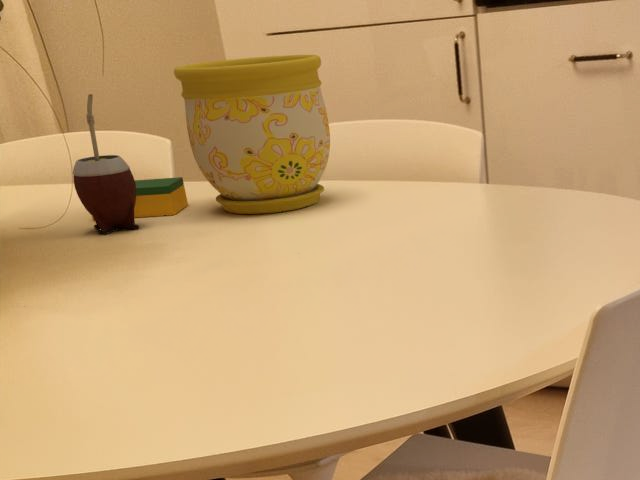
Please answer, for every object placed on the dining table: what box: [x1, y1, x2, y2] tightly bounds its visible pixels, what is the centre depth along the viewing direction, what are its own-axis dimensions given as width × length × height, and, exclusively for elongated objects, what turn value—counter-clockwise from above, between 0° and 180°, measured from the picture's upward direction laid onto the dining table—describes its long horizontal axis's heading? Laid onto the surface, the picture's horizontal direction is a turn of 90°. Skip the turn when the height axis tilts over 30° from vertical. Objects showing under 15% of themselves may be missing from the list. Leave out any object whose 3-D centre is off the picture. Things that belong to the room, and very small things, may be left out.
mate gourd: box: [72, 93, 139, 235], centre depth 114 cm, size 8×8×15 cm
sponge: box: [91, 176, 189, 221], centre depth 126 cm, size 11×7×4 cm, turn 90°
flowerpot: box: [173, 54, 331, 215], centre depth 121 cm, size 18×18×16 cm
